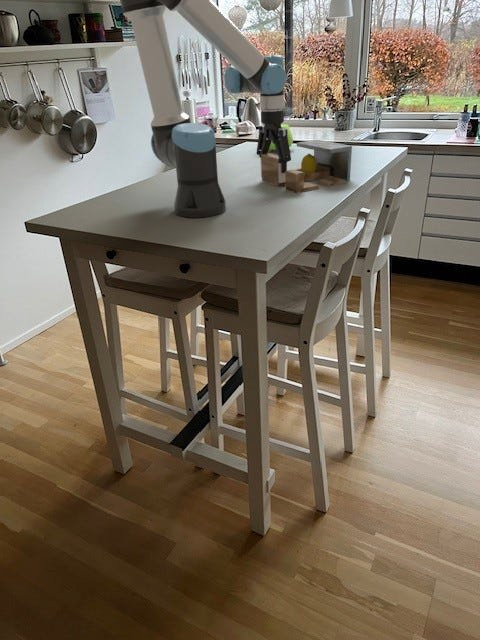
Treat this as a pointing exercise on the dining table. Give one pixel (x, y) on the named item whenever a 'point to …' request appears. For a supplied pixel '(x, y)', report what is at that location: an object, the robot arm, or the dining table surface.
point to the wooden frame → (271, 169)
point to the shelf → (331, 156)
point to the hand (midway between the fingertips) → (273, 179)
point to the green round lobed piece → (289, 135)
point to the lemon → (308, 164)
